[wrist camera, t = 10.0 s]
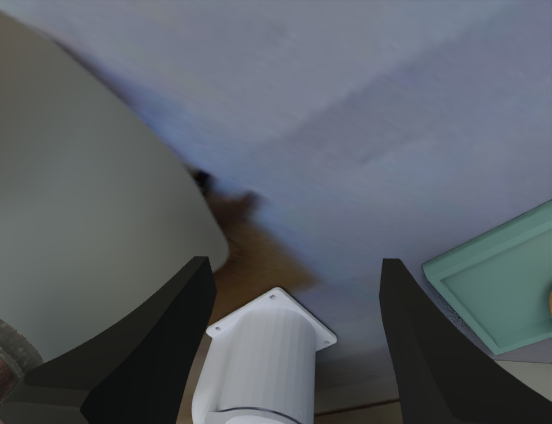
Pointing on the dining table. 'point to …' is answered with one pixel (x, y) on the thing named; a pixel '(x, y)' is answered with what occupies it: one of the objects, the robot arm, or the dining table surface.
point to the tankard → (15, 358)
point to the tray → (502, 281)
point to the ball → (550, 302)
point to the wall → (532, 375)
